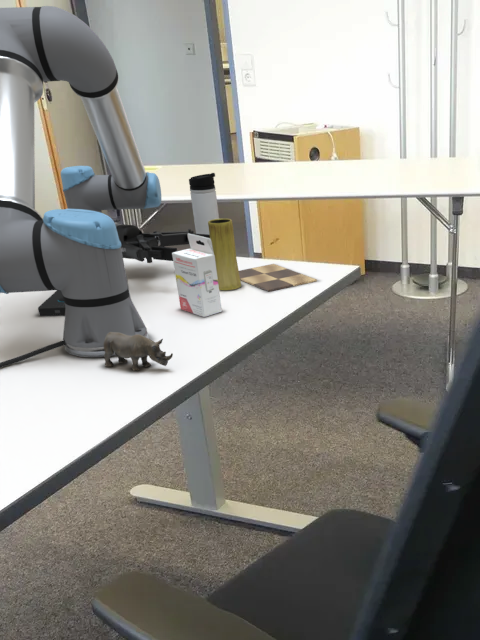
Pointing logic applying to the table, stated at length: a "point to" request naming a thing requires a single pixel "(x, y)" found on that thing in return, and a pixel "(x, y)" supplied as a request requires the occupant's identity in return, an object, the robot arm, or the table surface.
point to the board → (273, 277)
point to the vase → (224, 253)
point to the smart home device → (53, 305)
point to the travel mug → (203, 201)
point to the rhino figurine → (133, 349)
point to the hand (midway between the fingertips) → (195, 247)
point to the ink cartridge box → (197, 277)
